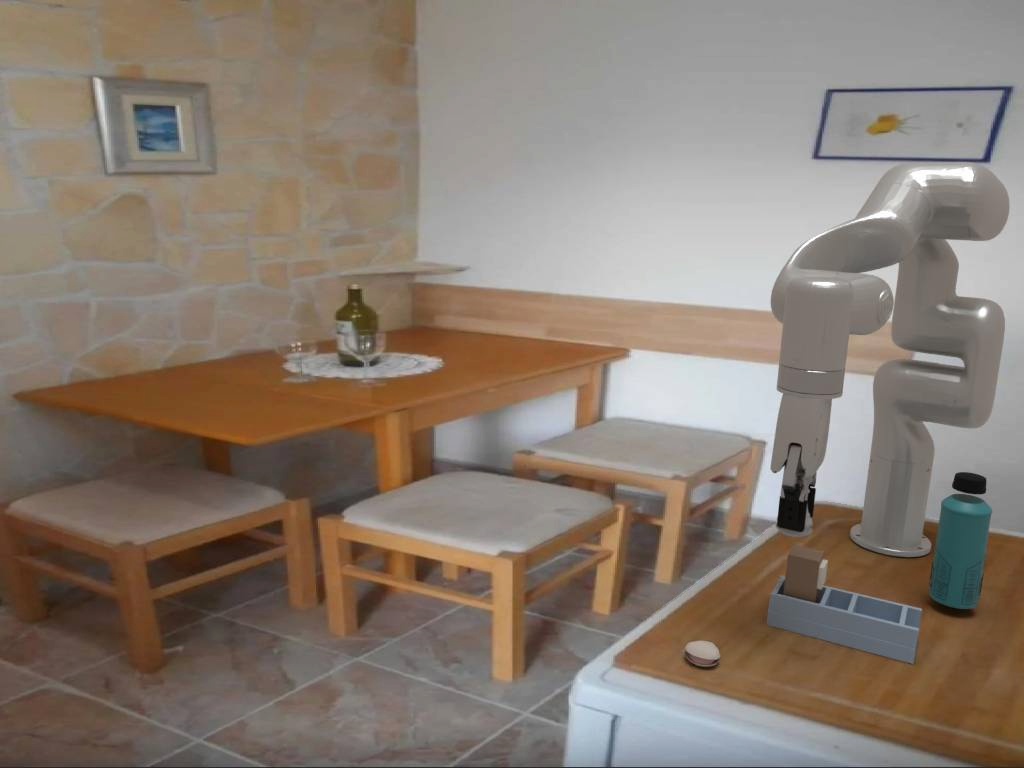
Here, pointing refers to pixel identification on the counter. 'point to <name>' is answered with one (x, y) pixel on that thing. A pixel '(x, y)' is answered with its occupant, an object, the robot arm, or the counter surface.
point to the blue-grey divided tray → (840, 611)
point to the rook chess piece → (808, 521)
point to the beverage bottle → (961, 544)
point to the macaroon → (702, 653)
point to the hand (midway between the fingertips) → (795, 521)
